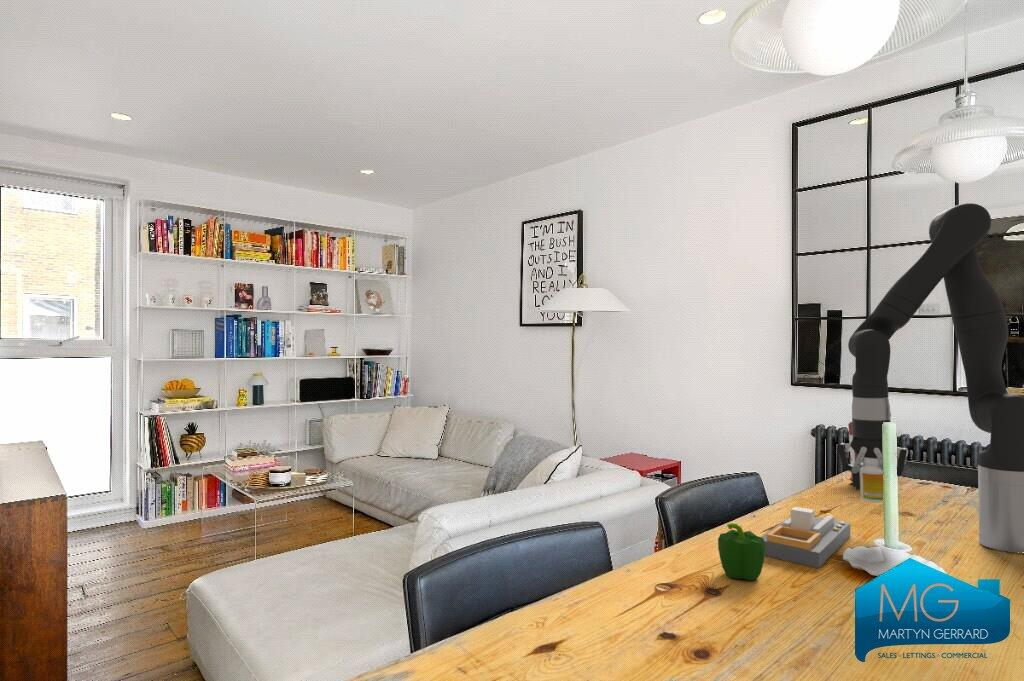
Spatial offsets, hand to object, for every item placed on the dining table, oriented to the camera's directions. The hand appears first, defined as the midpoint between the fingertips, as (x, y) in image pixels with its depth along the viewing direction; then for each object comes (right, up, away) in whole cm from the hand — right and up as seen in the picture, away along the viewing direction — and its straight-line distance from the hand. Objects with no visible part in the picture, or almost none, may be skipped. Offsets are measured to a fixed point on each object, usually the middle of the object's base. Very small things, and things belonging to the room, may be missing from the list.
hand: (873, 490), depth 135 cm
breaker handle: (-19, -7, -6) cm, 22 cm away
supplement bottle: (0, -2, 0) cm, 2 cm away
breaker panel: (-18, -11, -5) cm, 21 cm away
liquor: (+28, -11, +51) cm, 59 cm away
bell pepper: (-39, -11, -22) cm, 46 cm away
